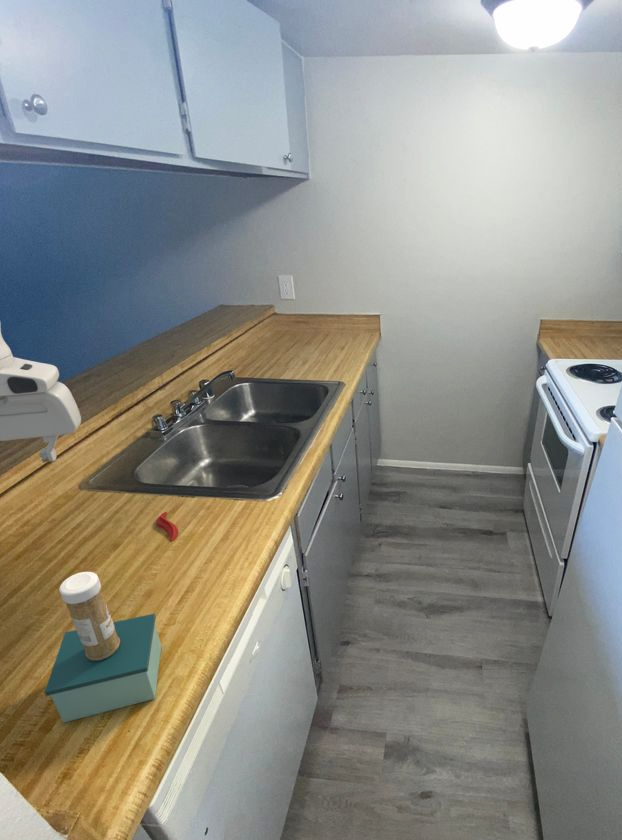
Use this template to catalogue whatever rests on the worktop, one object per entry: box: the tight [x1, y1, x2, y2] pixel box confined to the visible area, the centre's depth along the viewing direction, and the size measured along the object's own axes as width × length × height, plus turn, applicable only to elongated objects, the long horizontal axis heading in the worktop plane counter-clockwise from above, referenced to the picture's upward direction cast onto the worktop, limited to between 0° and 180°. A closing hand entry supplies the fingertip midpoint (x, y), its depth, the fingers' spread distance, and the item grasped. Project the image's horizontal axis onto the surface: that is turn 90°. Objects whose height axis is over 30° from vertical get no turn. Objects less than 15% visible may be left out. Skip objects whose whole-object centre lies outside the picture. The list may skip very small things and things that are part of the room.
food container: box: [44, 613, 162, 723], centre depth 72 cm, size 13×11×7 cm
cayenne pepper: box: [155, 511, 179, 542], centre depth 108 cm, size 12×5×2 cm, turn 24°
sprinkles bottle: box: [58, 571, 120, 661], centre depth 68 cm, size 5×5×13 cm
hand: (13, 464), depth 72 cm, fingers open, 8 cm apart
